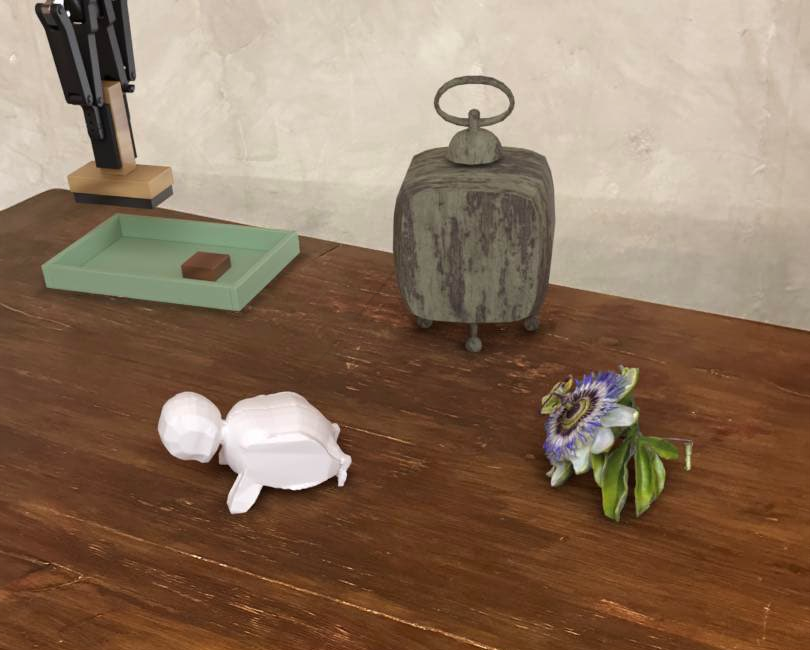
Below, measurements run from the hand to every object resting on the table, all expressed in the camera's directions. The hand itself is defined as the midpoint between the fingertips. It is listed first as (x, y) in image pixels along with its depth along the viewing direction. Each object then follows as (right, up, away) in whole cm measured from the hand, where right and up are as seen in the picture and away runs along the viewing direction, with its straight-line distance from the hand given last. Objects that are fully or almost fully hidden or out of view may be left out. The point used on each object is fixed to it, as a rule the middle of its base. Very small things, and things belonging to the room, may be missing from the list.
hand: (116, 161), depth 120 cm
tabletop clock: (+38, -21, -10) cm, 44 cm away
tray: (+5, -11, +6) cm, 13 cm away
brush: (0, -3, +2) cm, 4 cm away
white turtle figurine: (+19, -36, -28) cm, 49 cm away
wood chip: (+9, -11, +4) cm, 15 cm away
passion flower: (+47, -36, -29) cm, 66 cm away
